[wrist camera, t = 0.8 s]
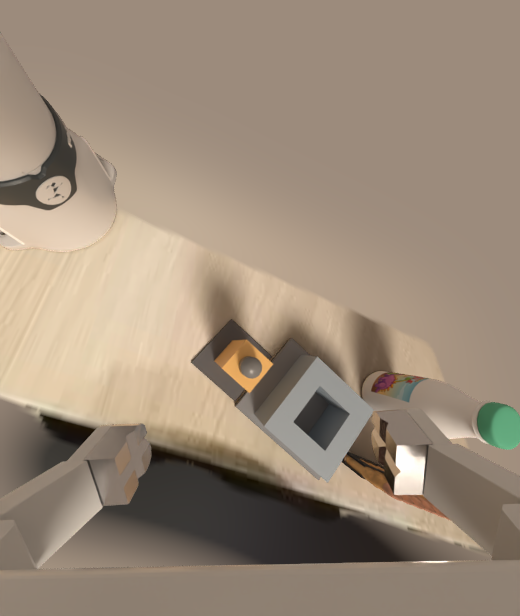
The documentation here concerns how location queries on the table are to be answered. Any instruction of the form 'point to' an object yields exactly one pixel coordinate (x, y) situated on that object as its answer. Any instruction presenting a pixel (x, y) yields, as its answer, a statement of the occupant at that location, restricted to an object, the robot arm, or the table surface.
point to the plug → (244, 363)
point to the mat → (215, 349)
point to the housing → (306, 410)
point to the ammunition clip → (385, 482)
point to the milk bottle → (444, 407)
